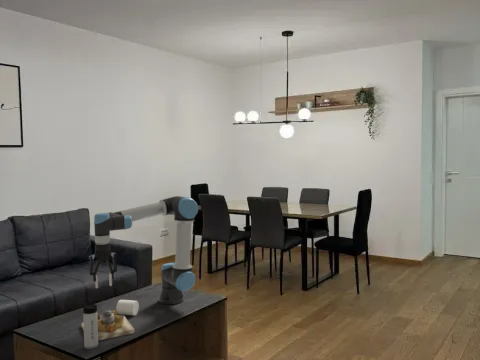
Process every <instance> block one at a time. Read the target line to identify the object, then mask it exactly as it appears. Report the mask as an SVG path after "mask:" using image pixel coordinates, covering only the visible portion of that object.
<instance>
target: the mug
mask: <svg viewBox="0 0 480 360" xmlns="http://www.w3.org/2000/svg"><path fill="white" fill-rule="evenodd" d="M139 309H140V305H139V301H138V300H131V299H130V300H129V299H119V300H118V302H117V304H116V307H115V310H117V315H124V316H137V315H138V312H139Z"/></svg>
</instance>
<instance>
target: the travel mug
mask: <svg viewBox="0 0 480 360" xmlns="http://www.w3.org/2000/svg"><path fill="white" fill-rule="evenodd" d="M82 309H83V310H82V314H83V315H82V316H83V317H82V318H83V322H82V323H84V331H83V343H84V344H83V346H84V349H86V350H93V349H95V348H97V347H98V346H99V340H98V318H97V314H98V305H97V304H96V303H95V304H94V303H84V304H82Z"/></svg>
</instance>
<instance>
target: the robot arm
mask: <svg viewBox="0 0 480 360" xmlns="http://www.w3.org/2000/svg"><path fill="white" fill-rule="evenodd" d="M198 212H199V206H198V203H197V202H196V201H195V200H194V199H193V198H191V197H186V196H180V195H177V196H171V197H168V198H167V197H166V198H163V199H160V200H159V201H158V202H154V203H150V204H146V205H142V206H136V207H132V208H128V209H123V210H119V211H115V212H100V213H99V212H98V213H95V214H94V217H93V221H94V222H93V224H94V243H95V244H94V253H93V254H92V255H89V256H88V258H89V271H88V273H89V275H90V276H92V279H93V282H94V285H95V286H94V287H95V289H98V288H99V283H98V282H99V279H98V270H99V267H100V264H101V262H103V261H104V262H106V264H107V268H108V269H109V271H110V272H108V276H109V277H108V280H109V282H108V284H109V286H110V287H112V286H113V280H114V277H115V276H114V275H115V273H116V272H118V265H117V253H116V252H112V251H111V243H110V242H111V236H110V234H111V233H110V232H112V231H121V230H122V231H123V230H130V229H131V228H132V226H133V222H136V221H140V220H144V219H149V218H153V217H157V216H161V215H162V216H164V217H165V216H171V215H172V216H173V219H174V222H175V223H176V231H175V232H176V233H175V256H174V257H175V260H174V261H175V262H169V263H164V264H161V268H160V274H161V275H160V276H161V289H160V293H159V296H158V302H159V303H160V304H163V305H177V304H181V303H183V302H184V300H185V296H184V292H186V291H189V290H191V289H192V287H194V286H195V282H196V275H195V273H193V265H191V244H192V243H191V242H192V241H191V240H192V224H193V222H195V217H196V215H198ZM110 256H111V257H110ZM95 258H96V262H95V265H94V259H95ZM109 258H112V265H111V261H110V259H109Z"/></svg>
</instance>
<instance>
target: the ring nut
mask: <svg viewBox="0 0 480 360" xmlns="http://www.w3.org/2000/svg"><path fill="white" fill-rule="evenodd" d="M111 312H112V313H113V314H114V323H110V324H103V319H100V315H101V314H100V313H97V318H98V331H110V332H113V330H115V329H118V328H120V327H122V325H123V324H124V322H123V317H122V316H119V315H120V314H117V310H116V309H113V310H111Z"/></svg>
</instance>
